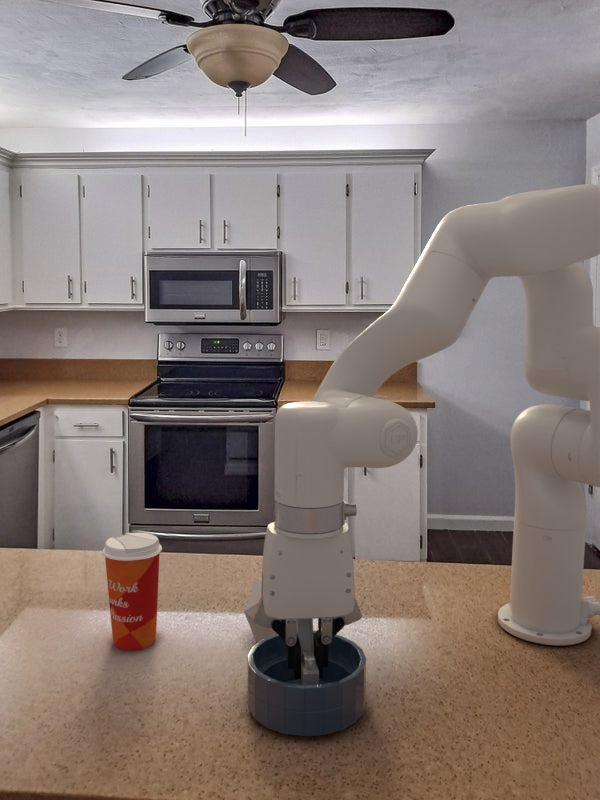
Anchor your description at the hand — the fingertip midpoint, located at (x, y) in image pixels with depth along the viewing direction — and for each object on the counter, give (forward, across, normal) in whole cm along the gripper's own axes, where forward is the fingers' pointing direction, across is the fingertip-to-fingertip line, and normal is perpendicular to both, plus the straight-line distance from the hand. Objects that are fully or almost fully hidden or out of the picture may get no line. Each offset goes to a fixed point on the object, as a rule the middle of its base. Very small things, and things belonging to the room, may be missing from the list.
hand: (307, 672), depth 83 cm
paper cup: (+4, +21, -18) cm, 28 cm away
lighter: (+3, 0, 0) cm, 3 cm away
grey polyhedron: (+4, +2, -17) cm, 18 cm away
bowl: (+4, 0, 0) cm, 4 cm away
